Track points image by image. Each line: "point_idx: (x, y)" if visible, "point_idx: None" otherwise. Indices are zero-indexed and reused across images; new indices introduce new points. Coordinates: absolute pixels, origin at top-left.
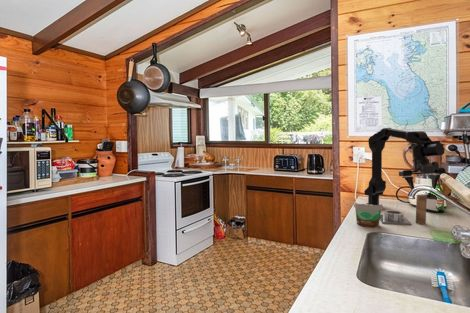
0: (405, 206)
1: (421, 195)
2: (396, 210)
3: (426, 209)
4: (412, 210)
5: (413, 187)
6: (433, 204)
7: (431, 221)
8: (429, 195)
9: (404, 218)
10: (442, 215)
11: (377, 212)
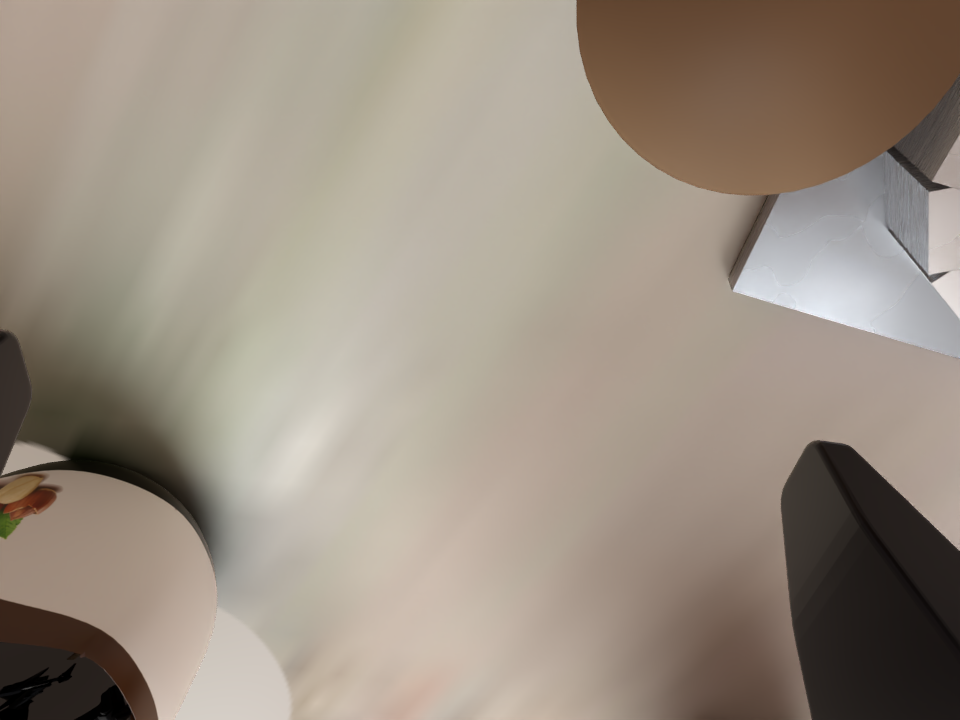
0: (351, 703)
1: (779, 15)
2: (955, 313)
3: (190, 516)
4: (359, 564)
5: (900, 542)
6: (65, 538)
7: (396, 21)
8: (42, 684)
9: None
10: (60, 317)
11: None
